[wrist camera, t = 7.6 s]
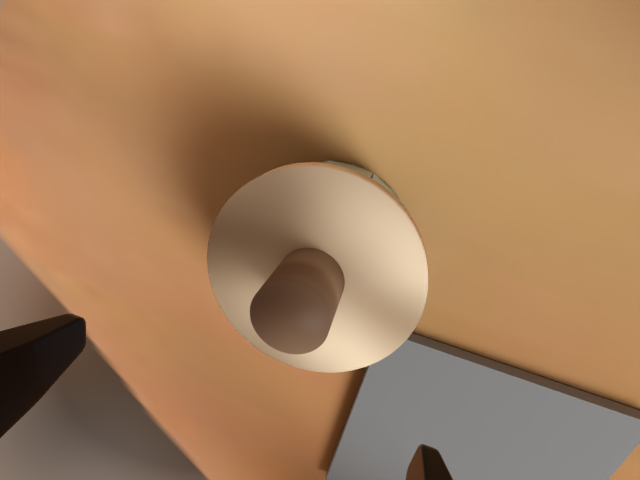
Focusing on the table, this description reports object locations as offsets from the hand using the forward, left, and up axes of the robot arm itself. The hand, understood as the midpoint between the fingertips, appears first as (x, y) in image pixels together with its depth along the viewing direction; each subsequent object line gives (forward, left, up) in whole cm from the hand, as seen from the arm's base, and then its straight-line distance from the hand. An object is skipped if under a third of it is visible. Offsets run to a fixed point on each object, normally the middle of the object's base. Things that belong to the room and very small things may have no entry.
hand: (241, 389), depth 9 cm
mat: (-11, -11, -12) cm, 19 cm away
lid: (0, 0, -8) cm, 8 cm away
